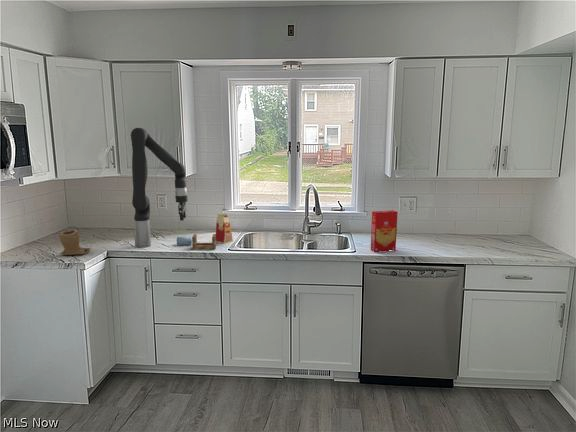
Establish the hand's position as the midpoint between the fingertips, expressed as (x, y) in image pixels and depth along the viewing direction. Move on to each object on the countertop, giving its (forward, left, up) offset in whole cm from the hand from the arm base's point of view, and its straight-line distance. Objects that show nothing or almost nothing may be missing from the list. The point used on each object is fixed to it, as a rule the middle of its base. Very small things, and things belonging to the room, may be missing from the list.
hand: (182, 219), depth 286 cm
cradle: (+14, -9, -17) cm, 24 cm away
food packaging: (+127, -22, -17) cm, 130 cm away
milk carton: (+25, +7, -17) cm, 31 cm away
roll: (0, 0, -15) cm, 15 cm away
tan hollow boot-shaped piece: (-62, -21, -17) cm, 67 cm away
